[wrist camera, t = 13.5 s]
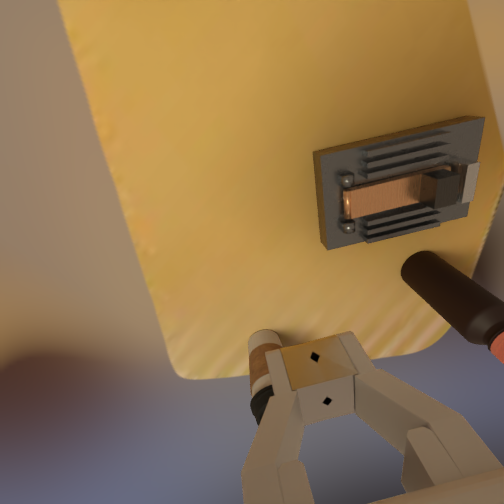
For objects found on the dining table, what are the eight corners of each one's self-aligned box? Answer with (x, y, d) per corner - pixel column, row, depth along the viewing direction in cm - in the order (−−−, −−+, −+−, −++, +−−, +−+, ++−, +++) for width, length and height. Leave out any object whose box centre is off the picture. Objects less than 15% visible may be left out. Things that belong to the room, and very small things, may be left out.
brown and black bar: (356, 228, 38) (464, 202, 38) (355, 199, 36) (469, 171, 36) (342, 216, 41) (441, 192, 42) (341, 189, 39) (444, 164, 40)
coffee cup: (244, 361, 57) (255, 440, 44) (238, 328, 53) (249, 405, 40) (286, 353, 58) (310, 429, 44) (284, 320, 53) (310, 393, 40)
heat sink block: (320, 241, 47) (336, 261, 41) (312, 151, 40) (330, 161, 34) (452, 209, 47) (486, 225, 42) (466, 115, 40) (509, 119, 35)
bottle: (402, 288, 54) (496, 381, 36) (397, 259, 51) (499, 347, 33) (437, 274, 53) (550, 361, 36) (435, 244, 50) (558, 324, 33)
